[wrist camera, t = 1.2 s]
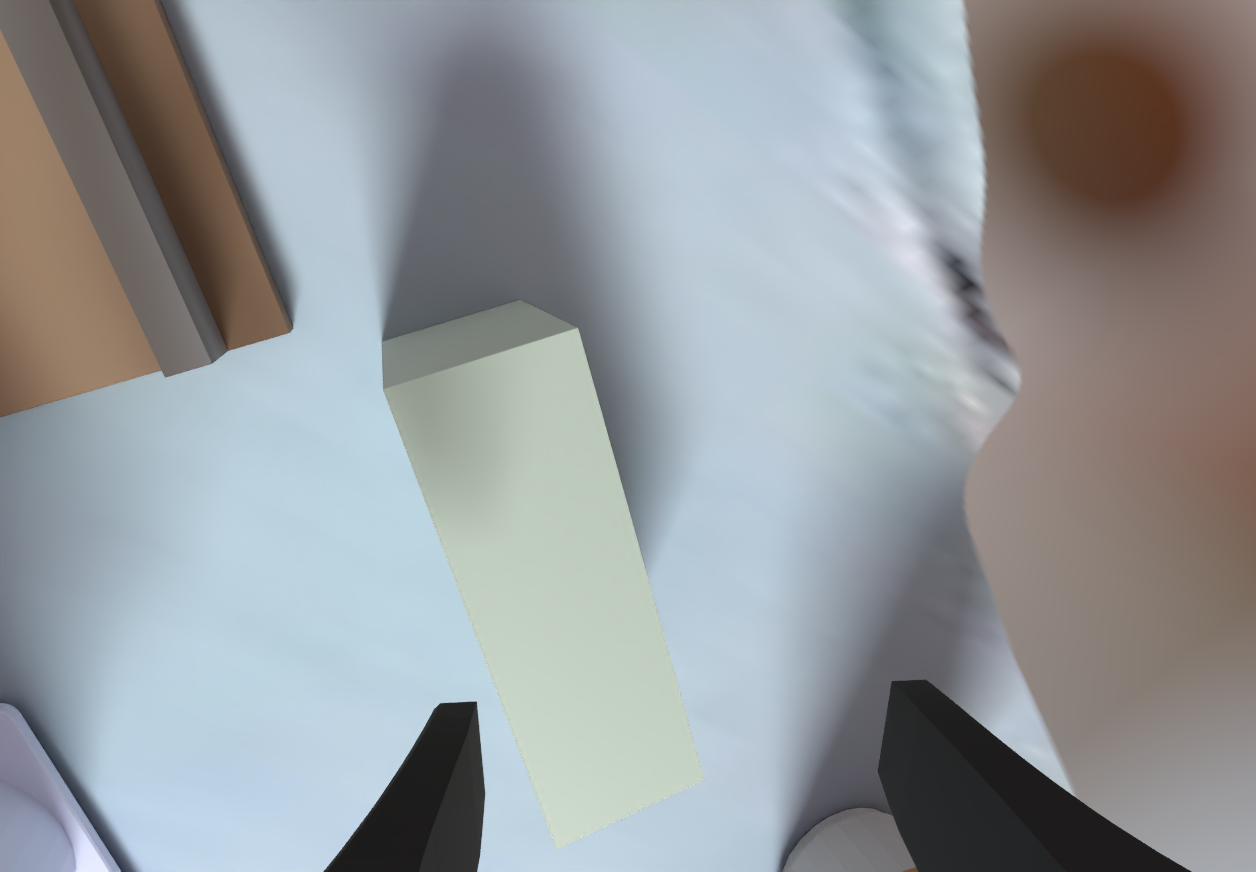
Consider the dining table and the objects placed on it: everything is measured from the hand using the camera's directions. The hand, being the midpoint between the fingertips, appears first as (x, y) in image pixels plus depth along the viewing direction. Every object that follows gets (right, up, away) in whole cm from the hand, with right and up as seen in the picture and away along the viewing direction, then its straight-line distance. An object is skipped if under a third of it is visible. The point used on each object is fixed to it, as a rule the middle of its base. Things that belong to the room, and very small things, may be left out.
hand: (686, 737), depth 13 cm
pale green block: (-4, +3, +10) cm, 12 cm away
